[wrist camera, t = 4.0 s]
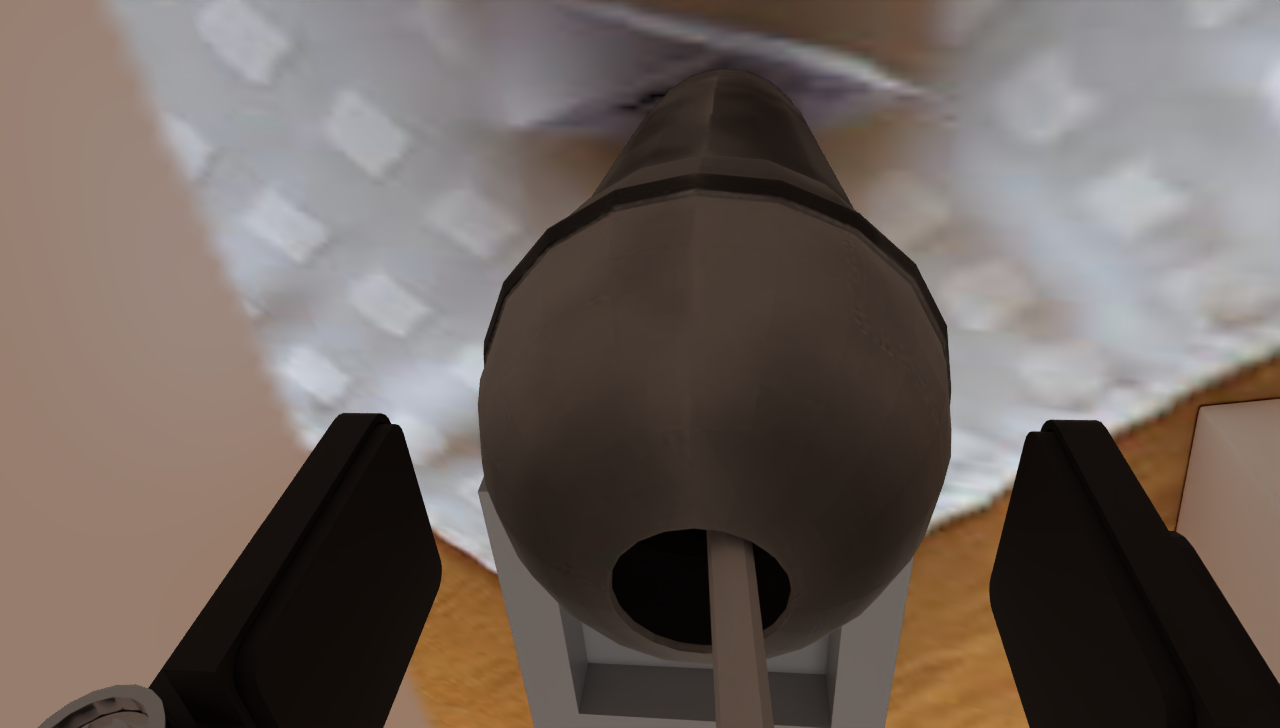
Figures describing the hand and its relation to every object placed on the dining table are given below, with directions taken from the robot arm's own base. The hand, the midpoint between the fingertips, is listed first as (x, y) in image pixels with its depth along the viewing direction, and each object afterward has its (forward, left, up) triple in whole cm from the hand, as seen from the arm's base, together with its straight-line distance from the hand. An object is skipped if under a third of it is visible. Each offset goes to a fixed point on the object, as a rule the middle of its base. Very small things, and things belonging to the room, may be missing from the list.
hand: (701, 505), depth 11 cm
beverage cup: (0, 0, -14) cm, 14 cm away
